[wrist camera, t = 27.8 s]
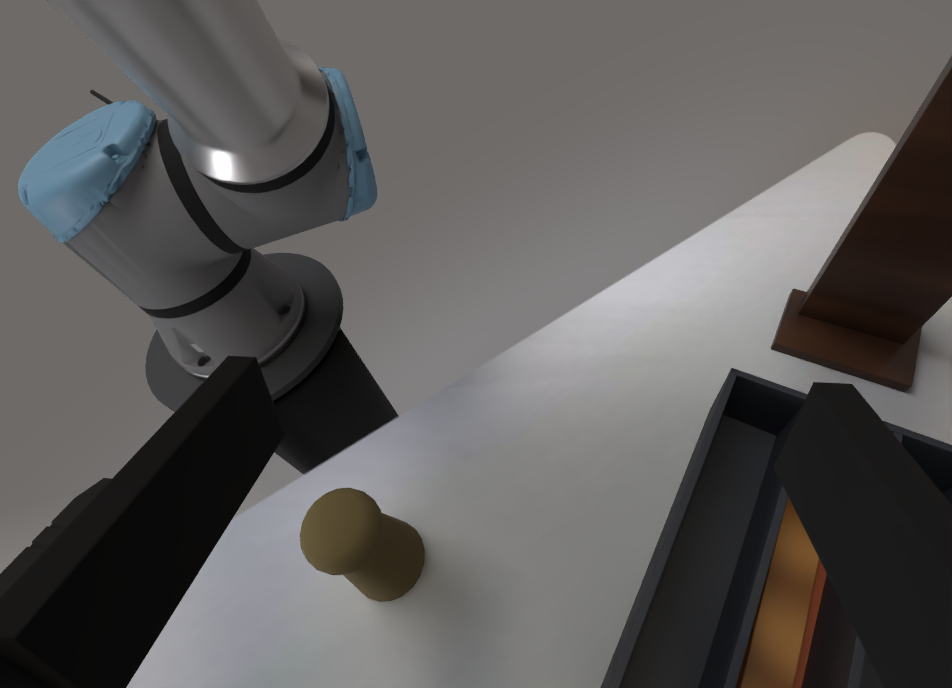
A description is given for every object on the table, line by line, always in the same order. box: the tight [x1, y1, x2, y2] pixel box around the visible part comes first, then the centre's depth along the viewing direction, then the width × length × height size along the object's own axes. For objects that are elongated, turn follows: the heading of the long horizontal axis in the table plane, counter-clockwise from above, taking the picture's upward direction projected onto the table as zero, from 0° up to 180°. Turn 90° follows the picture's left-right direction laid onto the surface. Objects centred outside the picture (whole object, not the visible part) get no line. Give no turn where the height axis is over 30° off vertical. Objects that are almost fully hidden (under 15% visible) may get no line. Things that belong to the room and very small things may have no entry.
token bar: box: [735, 497, 819, 688], centre depth 30 cm, size 20×2×2 cm, turn 149°
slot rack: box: [601, 368, 952, 688], centre depth 29 cm, size 23×16×7 cm, turn 147°
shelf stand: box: [771, 56, 952, 392], centre depth 29 cm, size 15×10×28 cm, turn 147°
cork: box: [300, 488, 425, 601], centre depth 33 cm, size 6×6×11 cm
